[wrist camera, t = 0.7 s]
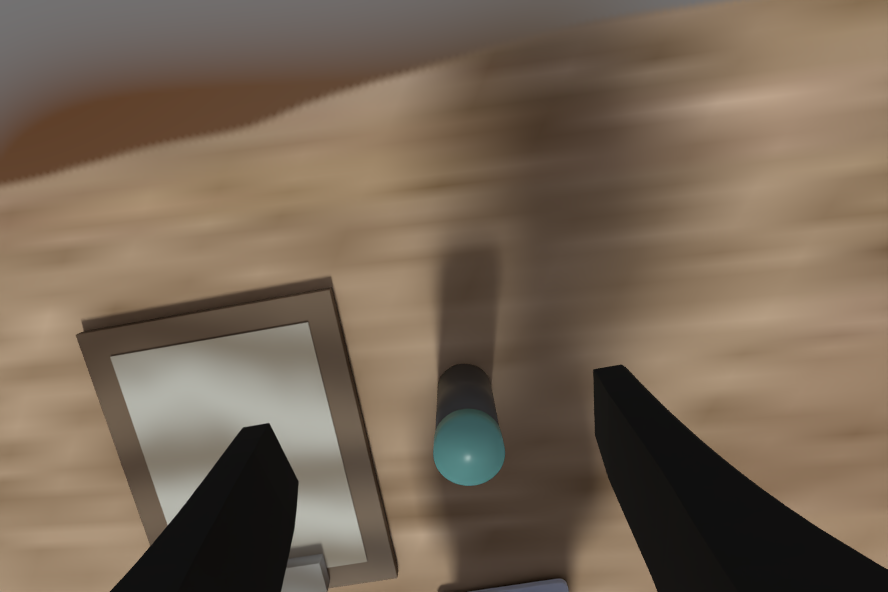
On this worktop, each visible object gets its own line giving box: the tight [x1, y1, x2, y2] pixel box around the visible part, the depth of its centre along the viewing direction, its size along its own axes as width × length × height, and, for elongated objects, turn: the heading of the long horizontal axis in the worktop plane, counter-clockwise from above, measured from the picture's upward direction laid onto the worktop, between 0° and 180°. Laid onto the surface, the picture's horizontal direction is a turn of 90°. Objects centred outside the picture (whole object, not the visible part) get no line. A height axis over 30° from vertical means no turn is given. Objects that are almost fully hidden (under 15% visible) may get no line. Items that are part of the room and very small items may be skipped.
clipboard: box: [76, 288, 398, 592], centre depth 30 cm, size 18×14×2 cm
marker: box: [433, 364, 505, 486], centre depth 27 cm, size 3×3×7 cm
